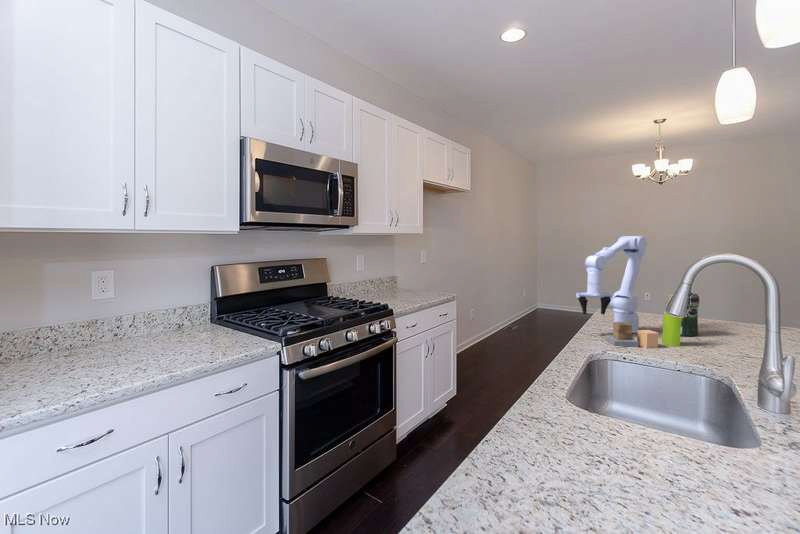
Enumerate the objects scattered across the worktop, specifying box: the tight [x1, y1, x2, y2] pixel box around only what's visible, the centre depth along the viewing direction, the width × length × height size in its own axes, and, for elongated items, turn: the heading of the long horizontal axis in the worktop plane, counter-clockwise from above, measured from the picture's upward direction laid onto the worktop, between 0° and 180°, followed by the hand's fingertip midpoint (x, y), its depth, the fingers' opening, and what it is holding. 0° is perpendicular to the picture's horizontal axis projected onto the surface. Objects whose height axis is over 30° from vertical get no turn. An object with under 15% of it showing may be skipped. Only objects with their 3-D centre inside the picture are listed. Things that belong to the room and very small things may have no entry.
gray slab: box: [604, 334, 640, 348], centre depth 156 cm, size 9×9×3 cm
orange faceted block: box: [636, 329, 660, 349], centre depth 153 cm, size 5×5×6 cm
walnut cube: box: [612, 321, 633, 340], centre depth 156 cm, size 5×5×6 cm
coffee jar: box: [680, 293, 700, 337], centre depth 169 cm, size 10×8×19 cm
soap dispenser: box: [661, 294, 681, 347], centre depth 155 cm, size 6×7×20 cm
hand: (593, 314), depth 168 cm, fingers open, 7 cm apart
